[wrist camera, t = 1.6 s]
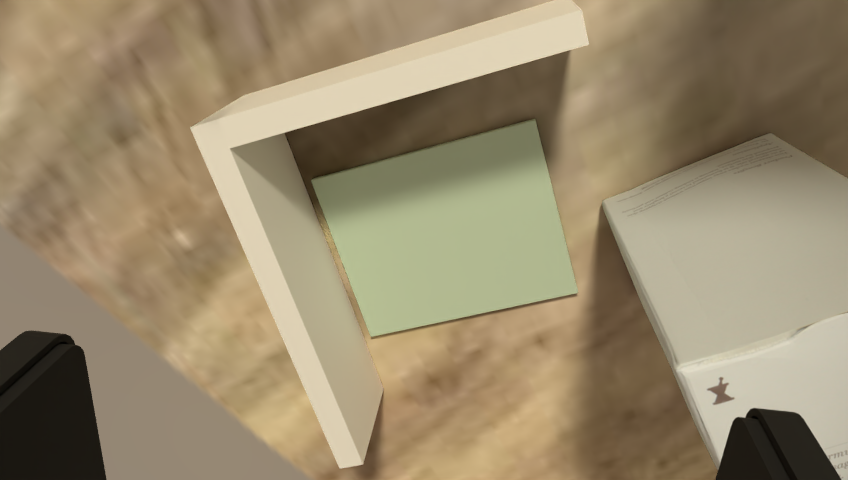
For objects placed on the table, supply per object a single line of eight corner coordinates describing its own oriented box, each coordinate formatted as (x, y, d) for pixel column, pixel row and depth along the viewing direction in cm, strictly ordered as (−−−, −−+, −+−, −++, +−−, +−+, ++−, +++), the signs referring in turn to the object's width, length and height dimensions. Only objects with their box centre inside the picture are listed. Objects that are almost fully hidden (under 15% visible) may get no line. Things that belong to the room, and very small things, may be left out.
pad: (535, 118, 31) (535, 119, 31) (577, 289, 34) (578, 292, 34) (312, 178, 33) (310, 180, 33) (371, 333, 36) (370, 336, 36)
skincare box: (639, 296, 34) (727, 534, 20) (595, 191, 32) (661, 376, 18) (816, 235, 32) (1046, 455, 18) (780, 118, 30) (1009, 267, 16)
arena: (567, -4, 29) (581, 9, 23) (641, 338, 35) (666, 413, 29) (243, 95, 32) (190, 127, 27) (363, 392, 38) (339, 468, 33)
